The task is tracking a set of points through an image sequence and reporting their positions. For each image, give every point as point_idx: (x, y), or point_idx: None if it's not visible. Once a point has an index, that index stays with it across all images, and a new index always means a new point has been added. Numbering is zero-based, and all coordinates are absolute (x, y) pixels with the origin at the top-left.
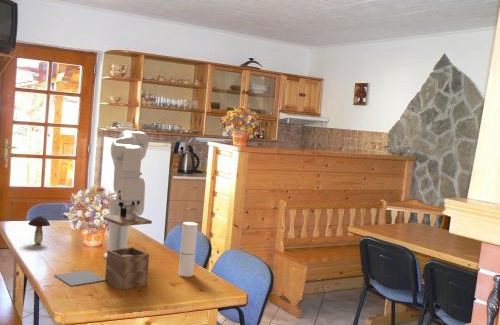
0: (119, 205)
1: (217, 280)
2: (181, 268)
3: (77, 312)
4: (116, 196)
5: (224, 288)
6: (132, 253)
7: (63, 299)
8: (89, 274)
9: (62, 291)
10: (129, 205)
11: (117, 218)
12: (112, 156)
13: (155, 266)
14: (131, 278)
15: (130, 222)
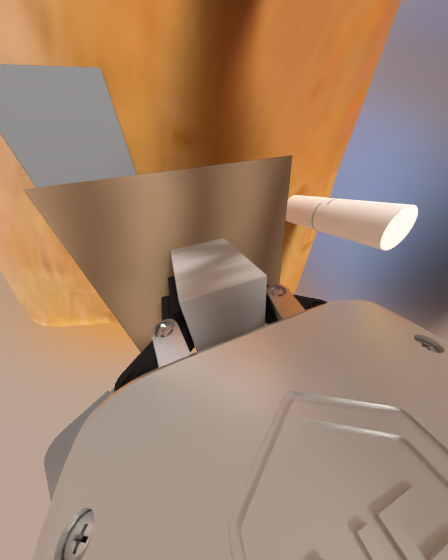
0: (143, 359)
1: (305, 249)
2: (290, 215)
3: (74, 324)
4: (58, 485)
5: (290, 277)
6: None
7: (39, 275)
8: (103, 126)
9: (28, 231)
10: None
11: (147, 275)
12: None
13: (283, 128)
14: None
15: None
